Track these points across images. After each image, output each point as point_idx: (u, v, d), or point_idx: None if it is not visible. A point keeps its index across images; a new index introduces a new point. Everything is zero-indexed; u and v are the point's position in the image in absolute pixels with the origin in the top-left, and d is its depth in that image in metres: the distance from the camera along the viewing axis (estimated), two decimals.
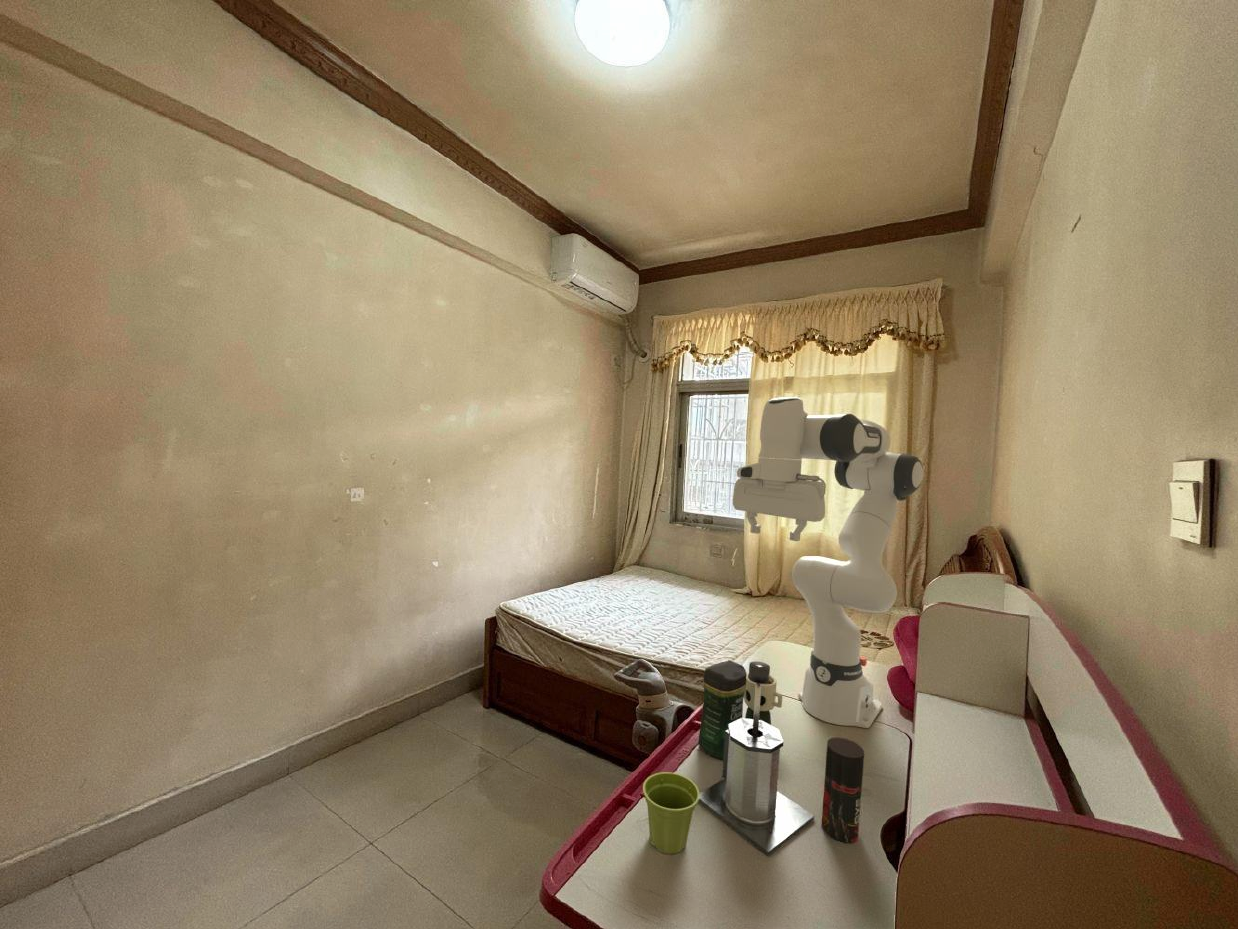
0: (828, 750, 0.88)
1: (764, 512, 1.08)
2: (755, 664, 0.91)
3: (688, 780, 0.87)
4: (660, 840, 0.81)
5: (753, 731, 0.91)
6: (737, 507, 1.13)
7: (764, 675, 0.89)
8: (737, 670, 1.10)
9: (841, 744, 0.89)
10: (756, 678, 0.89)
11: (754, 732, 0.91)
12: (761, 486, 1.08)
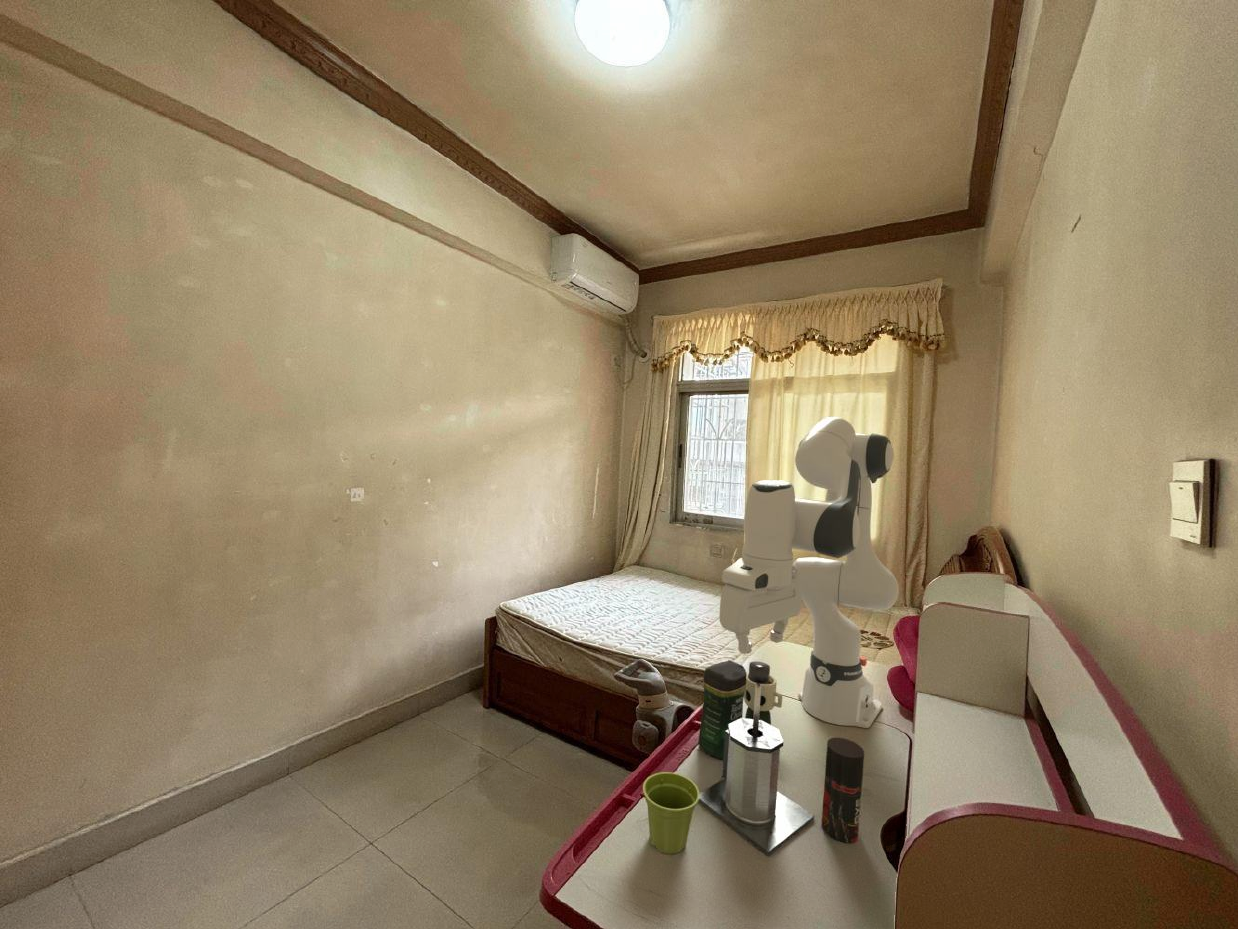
0: (828, 750, 0.88)
1: (765, 623, 0.88)
2: (755, 664, 0.91)
3: (688, 780, 0.87)
4: (660, 840, 0.81)
5: (753, 731, 0.91)
6: (741, 629, 0.84)
7: (764, 675, 0.89)
8: (737, 670, 1.10)
9: (841, 744, 0.89)
10: (756, 678, 0.89)
11: (754, 732, 0.91)
12: (764, 593, 0.87)
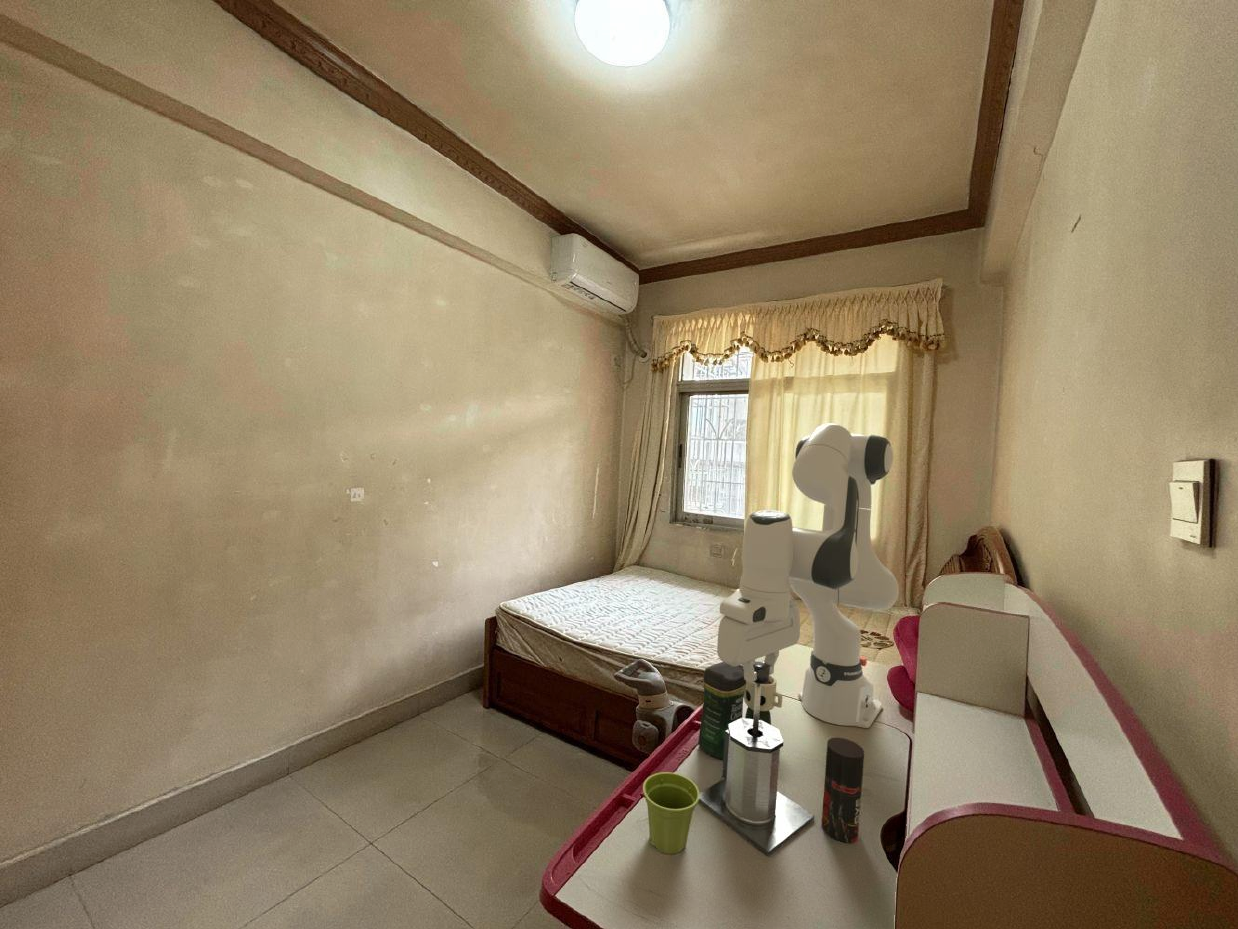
0: (828, 750, 0.88)
1: (763, 655, 0.88)
2: (755, 664, 0.91)
3: (688, 780, 0.87)
4: (660, 840, 0.81)
5: (753, 731, 0.91)
6: (739, 663, 0.84)
7: (764, 675, 0.89)
8: (737, 670, 1.10)
9: (841, 744, 0.89)
10: None
11: (754, 732, 0.91)
12: (761, 625, 0.87)
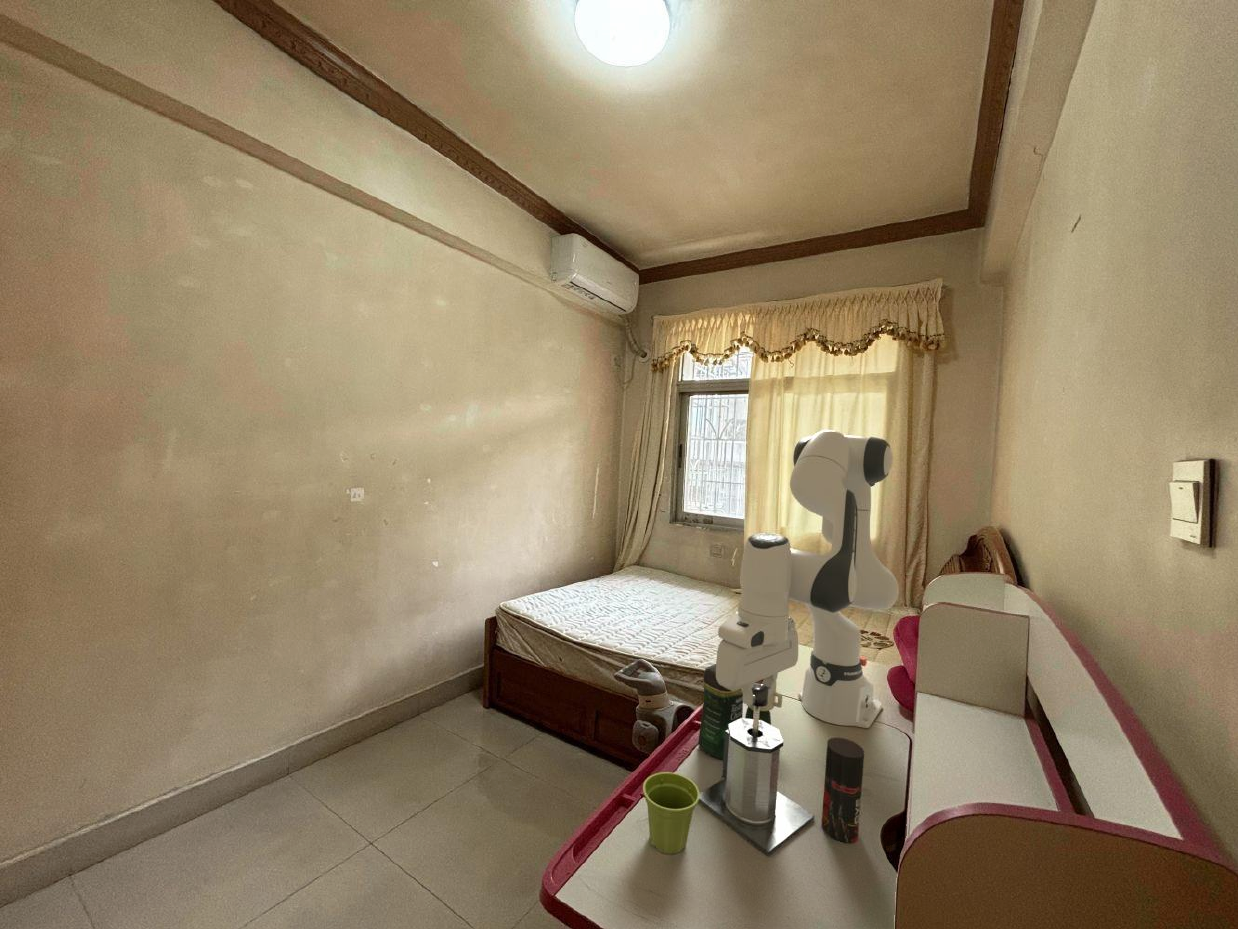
0: (828, 750, 0.88)
1: (761, 678, 0.88)
2: (754, 687, 0.91)
3: (688, 780, 0.87)
4: (660, 840, 0.81)
5: None
6: (737, 687, 0.84)
7: (763, 698, 0.89)
8: None
9: (841, 744, 0.89)
10: None
11: None
12: None
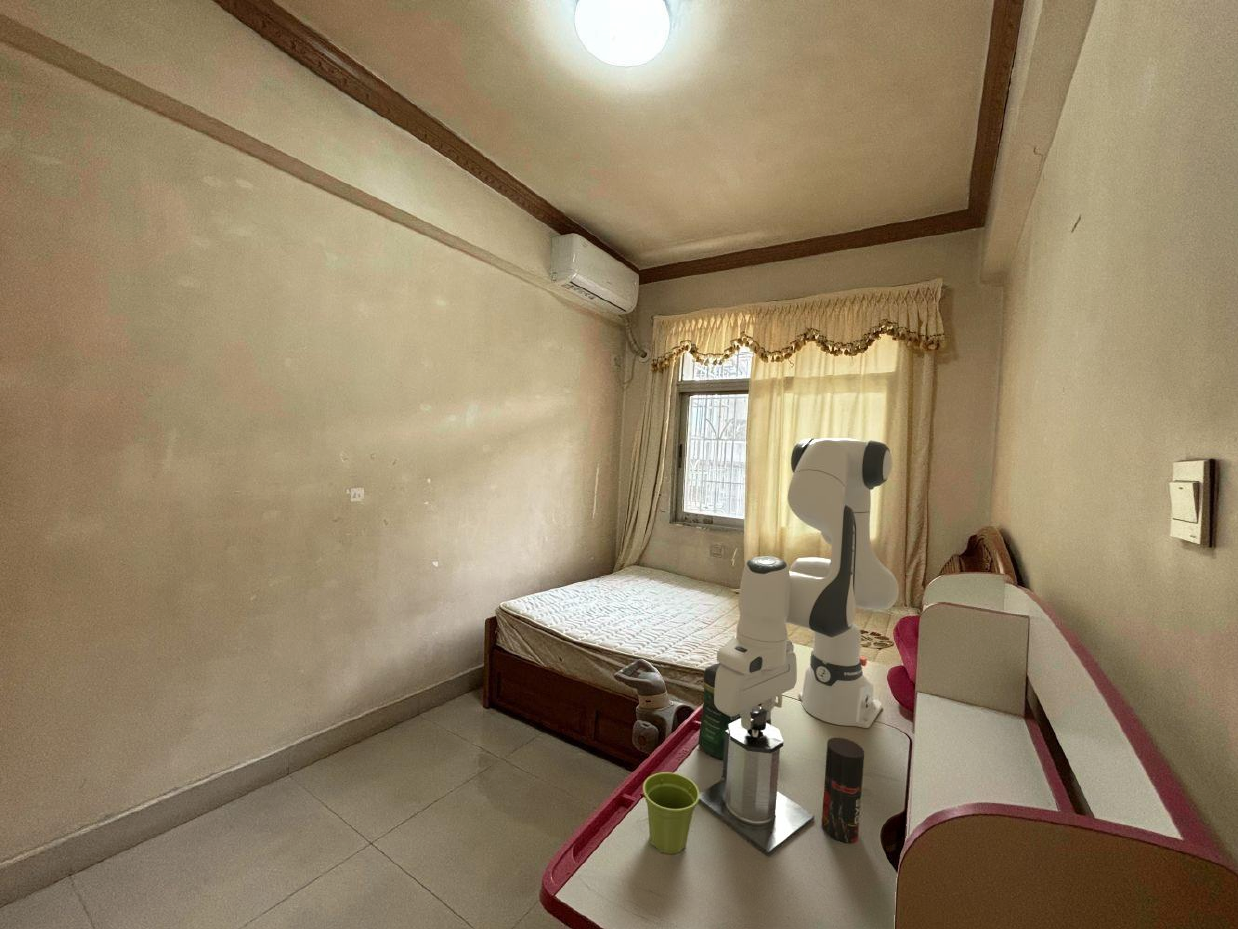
0: (828, 750, 0.88)
1: (760, 702, 0.89)
2: (752, 710, 0.92)
3: (688, 780, 0.87)
4: (660, 840, 0.81)
5: None
6: (735, 713, 0.84)
7: (761, 722, 0.89)
8: None
9: (841, 744, 0.89)
10: None
11: None
12: None
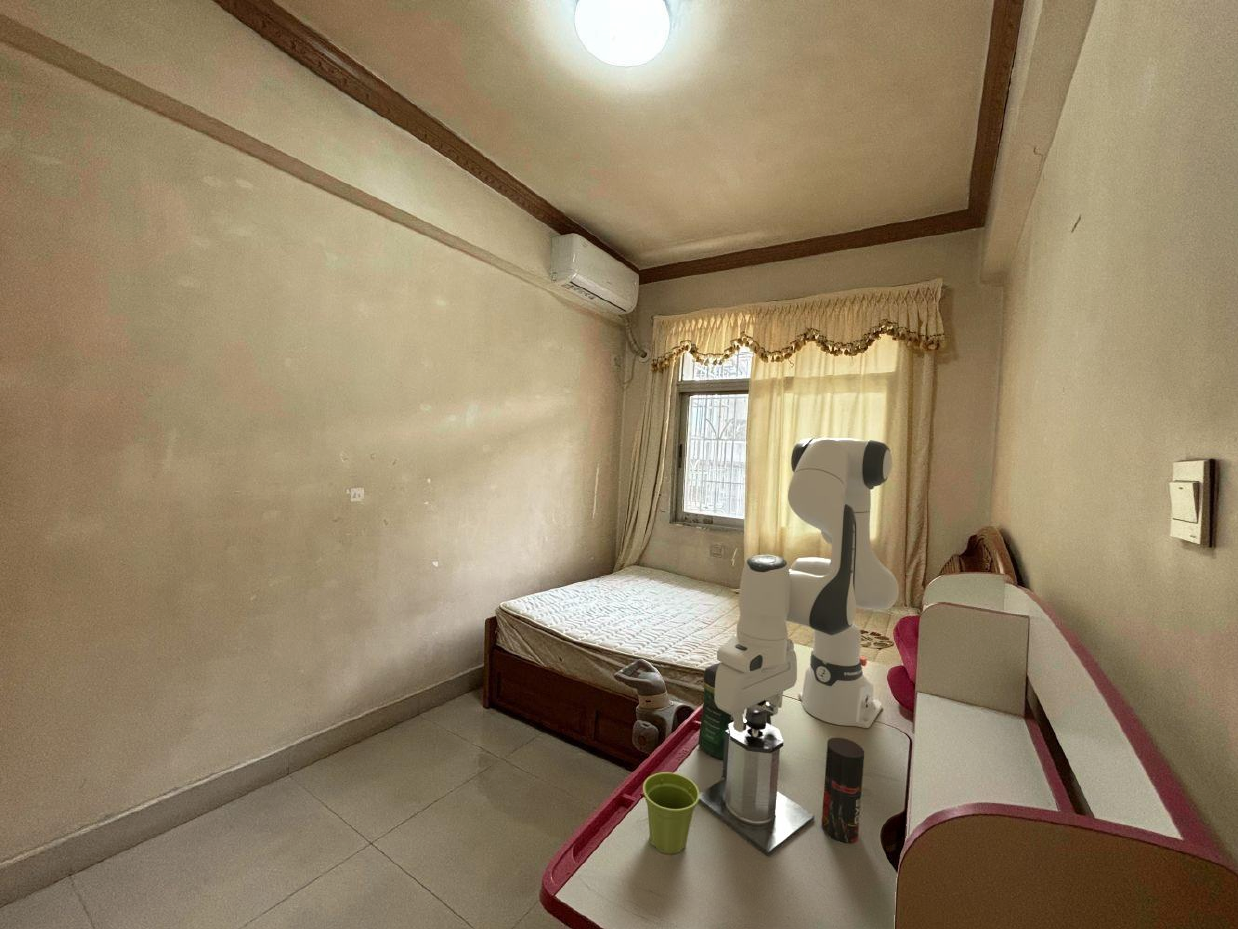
0: (828, 750, 0.88)
1: (760, 701, 0.89)
2: (752, 709, 0.92)
3: (688, 780, 0.87)
4: (660, 840, 0.81)
5: None
6: (736, 711, 0.84)
7: (761, 722, 0.89)
8: None
9: (841, 744, 0.89)
10: (753, 724, 0.90)
11: None
12: None
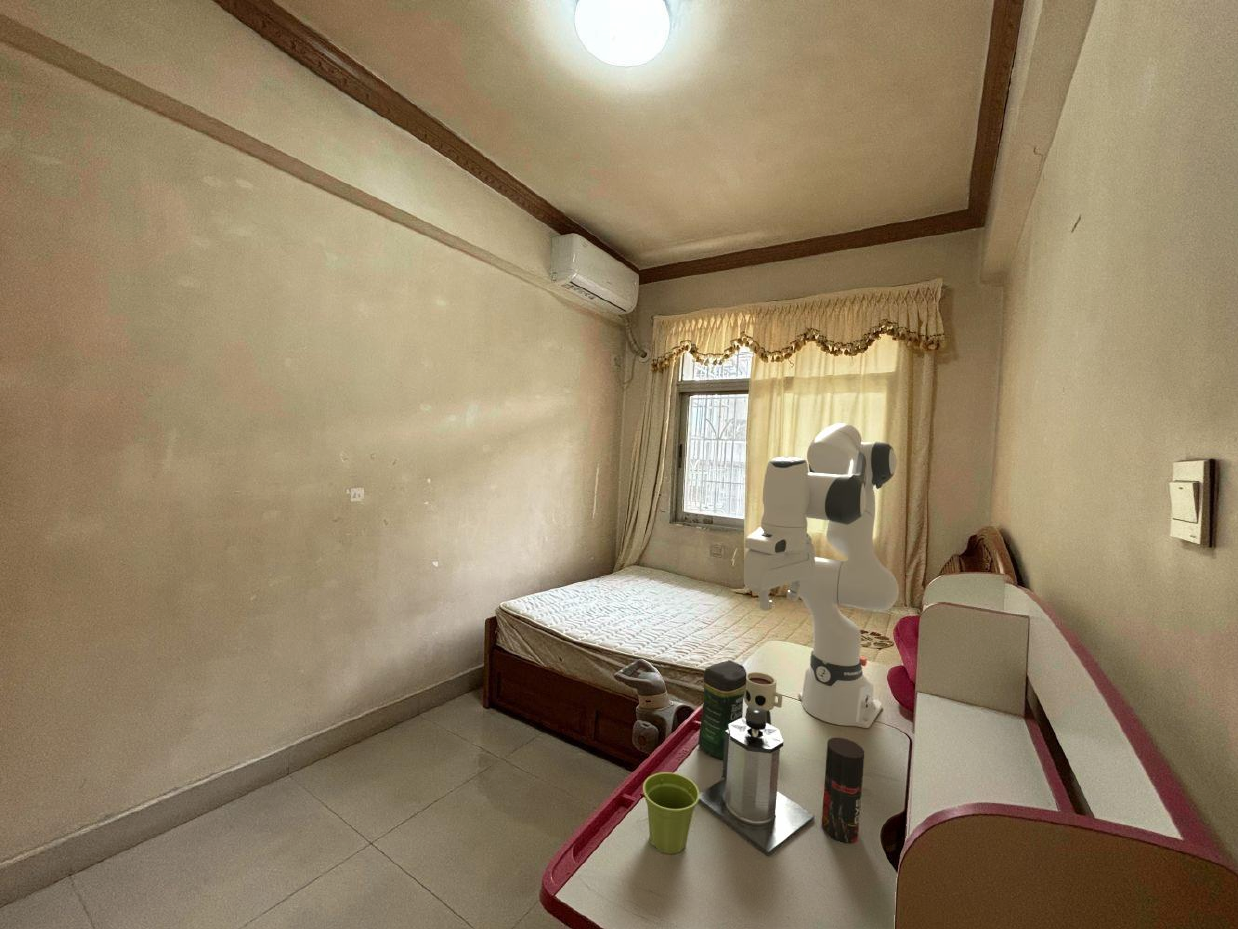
0: (828, 750, 0.88)
1: (783, 583, 1.00)
2: (752, 709, 0.92)
3: (688, 780, 0.87)
4: (660, 840, 0.81)
5: None
6: (763, 589, 0.95)
7: (761, 722, 0.89)
8: (737, 670, 1.10)
9: (841, 744, 0.89)
10: (753, 724, 0.90)
11: None
12: (782, 557, 0.98)
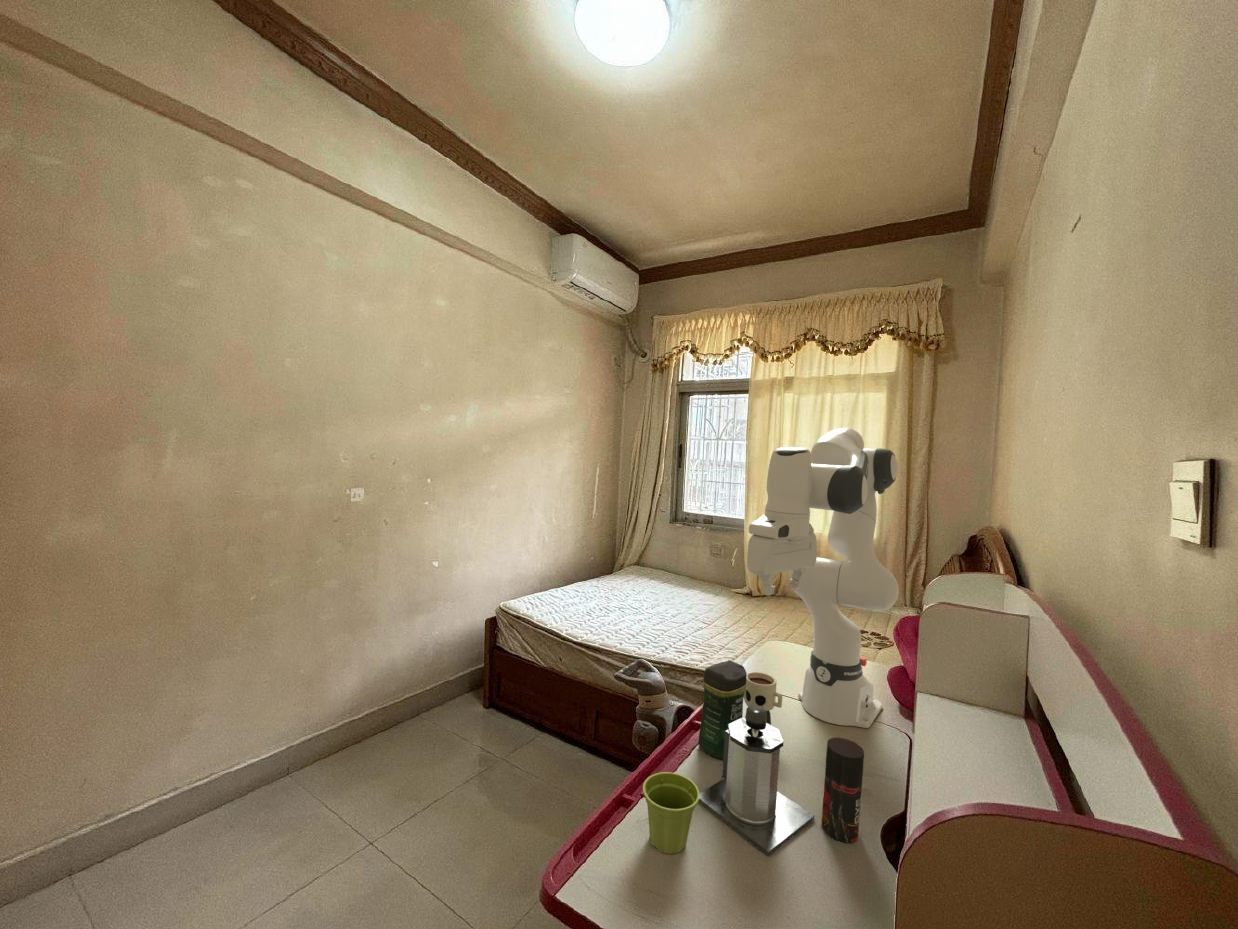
0: (828, 750, 0.88)
1: (786, 569, 1.02)
2: (752, 709, 0.92)
3: (688, 780, 0.87)
4: (660, 840, 0.81)
5: None
6: (766, 573, 0.97)
7: (761, 722, 0.89)
8: (737, 670, 1.10)
9: (841, 744, 0.89)
10: (753, 724, 0.90)
11: None
12: (785, 543, 1.01)
